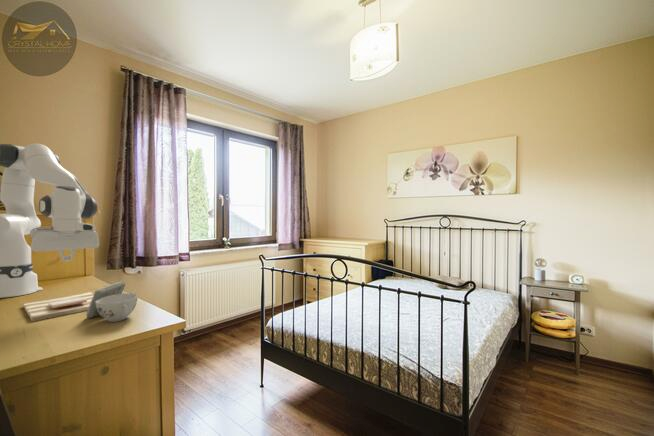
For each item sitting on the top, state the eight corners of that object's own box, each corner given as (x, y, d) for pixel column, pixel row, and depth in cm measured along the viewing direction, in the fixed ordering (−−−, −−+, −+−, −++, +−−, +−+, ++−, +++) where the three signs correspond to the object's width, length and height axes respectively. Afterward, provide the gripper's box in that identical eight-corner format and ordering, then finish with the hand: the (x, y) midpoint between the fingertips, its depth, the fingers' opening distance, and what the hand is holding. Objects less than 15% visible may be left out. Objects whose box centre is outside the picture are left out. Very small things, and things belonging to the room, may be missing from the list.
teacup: (91, 320, 105) (90, 298, 105) (130, 311, 115) (130, 291, 115) (104, 330, 96) (104, 306, 96) (145, 319, 106) (145, 297, 105)
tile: (53, 305, 110) (53, 308, 110) (86, 299, 118) (86, 302, 118) (48, 302, 116) (48, 305, 116) (80, 297, 124) (80, 299, 124)
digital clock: (114, 305, 122) (114, 280, 122) (134, 305, 121) (134, 280, 121) (77, 319, 106) (77, 290, 106) (99, 320, 105) (99, 291, 105)
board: (23, 306, 119) (23, 303, 119) (90, 295, 137) (90, 292, 137) (32, 321, 103) (32, 317, 103) (107, 306, 120) (106, 302, 120)
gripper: (31, 227, 105) (31, 264, 106) (100, 226, 121) (100, 258, 122) (29, 226, 109) (29, 262, 110) (96, 225, 125) (96, 257, 126)
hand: (67, 260), depth 116 cm, fingers closed
